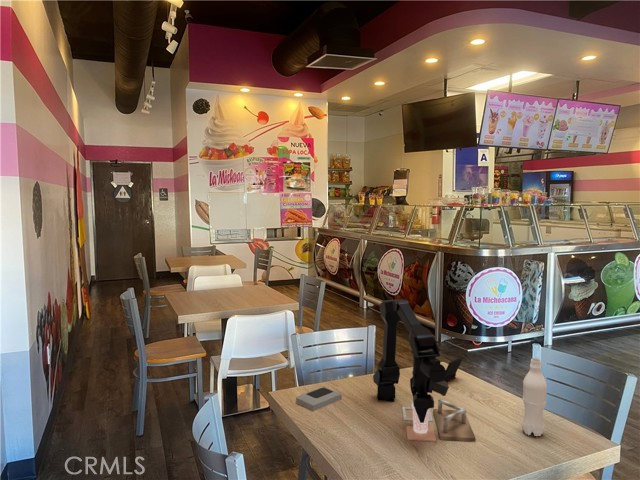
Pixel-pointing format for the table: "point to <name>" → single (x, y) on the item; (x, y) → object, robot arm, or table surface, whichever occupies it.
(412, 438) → the end mat
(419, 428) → the beverage cup
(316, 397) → the keypad
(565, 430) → the table surface
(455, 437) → the wire board
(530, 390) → the water bottle
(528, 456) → the table surface
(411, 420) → the frame
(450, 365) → the dark piece
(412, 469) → the table surface
